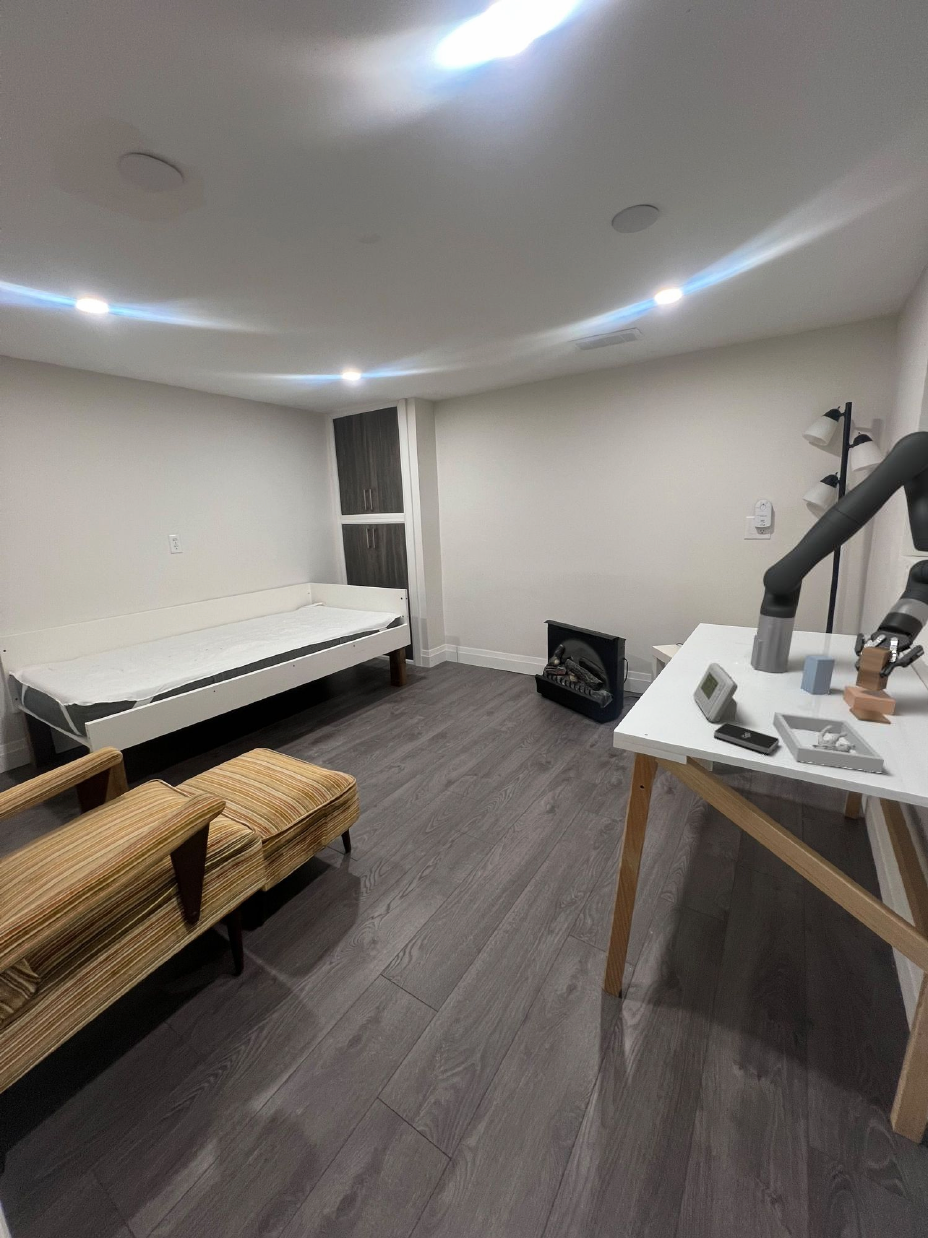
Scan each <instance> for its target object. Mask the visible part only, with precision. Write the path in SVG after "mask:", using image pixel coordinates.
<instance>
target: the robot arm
mask: <svg viewBox="0 0 928 1238" xmlns="http://www.w3.org/2000/svg"><path fill="white" fill-rule="evenodd" d="M901 488H903V490H904V493H905V500H906V506H907V513H908V523H909V528H910V533H911V539H912V544H913V547H914V549H915V550H916V551H918V552H924V553H925V552H926V553H928V431H926V430H924V431H923V430H920V431H914V432H911V433H909V434H906V435H904V436H903V437H901V438H900V439H899V440H898V441H897V442H896V443H895V444H894V446H893V447H892V449H891V450H890V451H889V453H888V454H887V455H886V456H885V457H884V459H883V460H882V461H881V462H880V463H879V464H878V465H877V467H876V468H875V469H874V470H873V471H872V472H871V473H869V475H868V476H867V477H866V478H864V479H863V480H862V481H861V482H859V483H858V484H857V485H855V486H854V487H853V488H852V489H850V490H849V491H848V492H846V493H845V494H844V495H843V496H842V497H841V498H840V499H839V500H837V501H836V502H835V503H834V504H833V505H832V506H831V507H830V508H828V510H826V511H825V513H824V514H823V515H822V516H820V518H818V520H817V521H816V522H815V523H814V525H812V527H811V528H810V529H809V530H808V531H807V532H806V534H804V536H803V537H802V538H801V540H800V541H799V542H798V543H797V544H796V545H795V546H794V547H793V548H792V549H791V550H790V551H789V552H788V553H786V554H785V556H783V557H782V558H781V559H779V560H778V561H777V562H776V563H775V564H773V565H772V566H770V567H768V568H767V569H766V570H765V573H764V574H763V577H762V578H763V579H762V584H763V587H764V593H763V598H762V601H761V604H760V608H759V615H758V623H757V630H756V635H754V638H753V644H752V650H751V656H750V657H751V659H750V665H751V666H752V668H753V669H754V670H758V671H763V672H768V673H775V674H777V673H785V672H786V671H787V669H788V663H789V656H790V651H791V645H792V639H793V633H794V626H795V620H796V613H797V609H798V606H799V603H800V601H799V600H800V595H801V590H802V584H803V579H804V578H805V577H806V576H807V575H808V574H809V573H810V572H811V571H812V570H813V569H814V568H815V567H816V566H817V565H818V564H819V562H822V560H824V559H825V558H827V557H828V556H830V555H831V554H832V553H833V552H835V551H836V550H838V549H839V548H840V547H841V546H842V545H844V544H846V542H848V541H849V540H850V539H851V538H853V536H855V535H856V534H857V533H858V532H859V531H860V530H861V529H862V528H863V527H864V526H865V525H866V524H867V523H868V522H870V520H872V518H874V517H875V515H876V514H877V513H878V512H879V511H880V510H881V509H882V508H883V507H884V505H886V503H887V502H888V501H889V499H891V497H892V496H893V495H894V494H895V493H896V492H898V490H900V489H901ZM927 623H928V559H922V560H919V561H917V562H916V563H914V564H913V565H911V567H910V569H909V573H908V577H907V581H906V585H905V589H904V591H903V592H902V594H901V596H900V597H899V598H898V600H897V601H896V603H894V605H893V606H892V607H891V608H890V609H889V611H888V612H887V614H886V616H885V617H884V618H883V619H882V621H881V622H880V624H879V625H878V627H877V630H876V631H875V632H873V633H871V635H870V634H864V633H862V632H859V633H857V636H856V639H855V640H856V641H855V644H854V648H853V649H854V652H855V653H854V654H855V655H856V656H857V658H858V659H856V662H855V663H854V667H855V670H856V672H858V670H859V668H860V666H859V665H860V660H861V655H862V650H863V648H865V645H867V644H868V643H869V641H871V643H869V644H868V645H867V647H869V646H873V647H881V648H885V649H890V650H891V651H892V654H891V656H890V657H889V661H888V662H886V664H885V665H884V667H883V668H882V670H881V671H880V672H879V675H880V677H881V678H885V677H888V676H889V677H890V676H891V674H892V672H893V671H894V669H895V668H897V667H901V668H904V669H906V668H907V667H909V666H910V665H911V664H913V663H914V662H915V661H917V660H918V659H919V658H921V656H923V655H924V654H925V650H924V647H923V645H921V644H915V643H914V642H915V640H916V639H917V637H918V636H919V634H920V633H921V632H922V630H923V628H924V627H926V625H927ZM907 650H908V652H906V653H905V654H904V655H903V656H901V657H900V655H901V653H903V652H905V651H907ZM889 677H888V678H889Z"/></svg>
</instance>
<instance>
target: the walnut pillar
mask: <svg viewBox="0 0 928 1238" xmlns="http://www.w3.org/2000/svg"><path fill="white" fill-rule="evenodd" d="M891 654H892V651H891V650H890V649H885V648H881V647H873V646H869V647H868V646H866V647H865V646H864V648H863V650H862V655H861V660H860V665H859V666H860V668H859V670H858V671H857V674H856V675H857V676H856V681H855V686H854V687H861V688H865V689H869V690H872V691H876V692H877V691H880V690H886V689H887V686H888V681H889V677H890V676H888V677H885V678H881V677H880V675H879V672H880V671H881V670H882V668H883V667H884V665H885V664H886V662H888V661H889V657H890V656H891Z"/></svg>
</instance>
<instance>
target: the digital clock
mask: <svg viewBox="0 0 928 1238" xmlns="http://www.w3.org/2000/svg"><path fill="white" fill-rule="evenodd" d="M737 690H738V684H737V683H736V682H735V681H734V680H733V678H732V677H731V676H730V674H729V673H728V672H727V671H726V670H725V669H724V668H723V667H722V666H720V665H719V664H718V663H717V662H711V663H710V664H709V665H708V667H707V669H706V671H705V673H704V674H703V676H702V678H701V680H700V682H699V683H698V685H697V687H696V689H695V690H694V692H693V694H692V695H693V699H694V700H695V701H696V703H697V705H698V706H699V708H700V709H701V710H702V711H701V712H703V714H704V715H705V717H706V718H707V719H708V720H709V722H711V723H717V722H718V721H719V720H732V721H735V720H736V716H737V709H738V702H737V701H736V700H735V699H734V695H735V693H736V691H737Z"/></svg>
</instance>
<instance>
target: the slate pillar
mask: <svg viewBox="0 0 928 1238" xmlns="http://www.w3.org/2000/svg"><path fill="white" fill-rule="evenodd" d="M805 655H806V656H805V660H804V667H803V673H802V678H801V679H802V680H801V685H800V689H801V690H802V689H803V690H802V691H804V692H806V693H807V694H810V695H812V696H815V695H816V696H817V695H819V696H822V695H823V694H828V695H829V694H830V688H831V684H832V678H833V677H832V676H833V672H834V666H835V661H836V660H835V659H834V658H832V657H829V656H827V655H825V654H805Z"/></svg>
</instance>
